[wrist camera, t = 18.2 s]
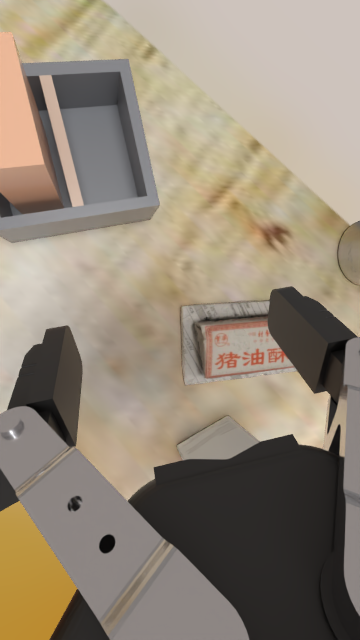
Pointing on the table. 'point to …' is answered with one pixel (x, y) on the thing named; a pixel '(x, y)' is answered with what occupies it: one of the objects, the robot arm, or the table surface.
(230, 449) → the skincare box
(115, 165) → the grey open tray
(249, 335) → the packaged product
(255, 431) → the table surface
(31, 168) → the salmon rectangular block
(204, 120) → the table surface
